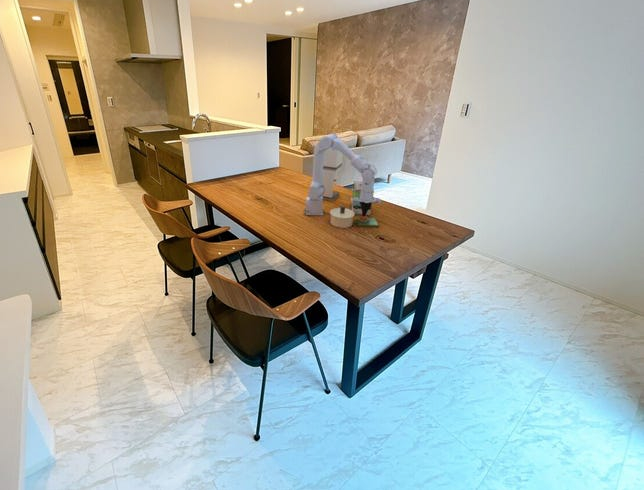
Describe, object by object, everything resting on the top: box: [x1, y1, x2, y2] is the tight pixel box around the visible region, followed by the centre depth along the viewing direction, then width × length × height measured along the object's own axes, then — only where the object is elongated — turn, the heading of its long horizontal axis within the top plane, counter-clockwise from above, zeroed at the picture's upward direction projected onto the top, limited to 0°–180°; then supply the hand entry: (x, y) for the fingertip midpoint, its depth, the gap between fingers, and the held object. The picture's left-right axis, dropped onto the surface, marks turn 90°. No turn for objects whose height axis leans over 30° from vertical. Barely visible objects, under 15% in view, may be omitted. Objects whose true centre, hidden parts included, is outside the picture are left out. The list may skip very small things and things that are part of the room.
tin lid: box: [329, 205, 356, 219], centre depth 152 cm, size 12×12×4 cm
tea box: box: [351, 180, 375, 216], centre depth 167 cm, size 15×10×15 cm
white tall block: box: [322, 139, 345, 202], centre depth 182 cm, size 11×11×35 cm
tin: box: [329, 214, 354, 229], centre depth 154 cm, size 11×11×5 cm
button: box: [359, 214, 368, 220], centre depth 153 cm, size 3×3×2 cm
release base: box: [355, 215, 379, 228], centre depth 154 cm, size 10×8×3 cm
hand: (363, 215), depth 152 cm, fingers closed
